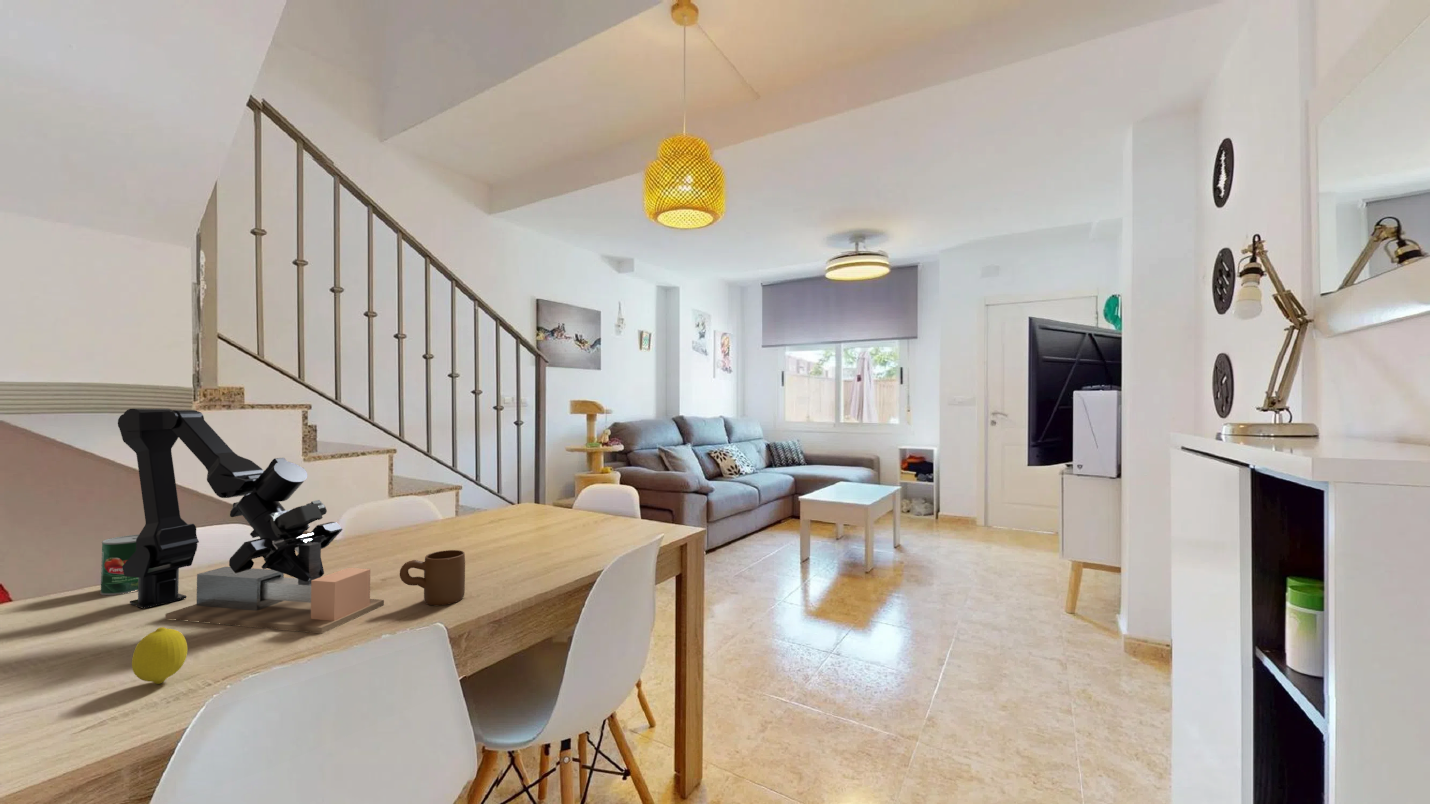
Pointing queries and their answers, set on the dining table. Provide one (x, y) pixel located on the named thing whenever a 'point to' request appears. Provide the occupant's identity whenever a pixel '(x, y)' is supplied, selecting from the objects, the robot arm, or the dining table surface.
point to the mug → (439, 576)
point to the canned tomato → (117, 565)
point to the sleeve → (234, 588)
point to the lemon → (159, 655)
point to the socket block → (340, 593)
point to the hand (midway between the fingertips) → (315, 577)
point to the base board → (269, 616)
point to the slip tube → (292, 586)
